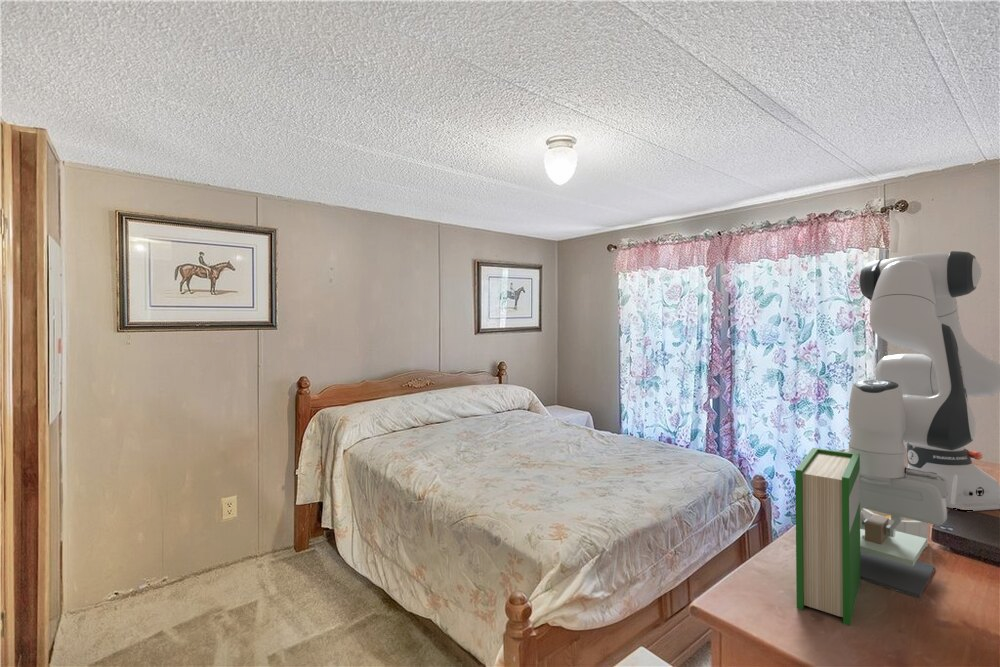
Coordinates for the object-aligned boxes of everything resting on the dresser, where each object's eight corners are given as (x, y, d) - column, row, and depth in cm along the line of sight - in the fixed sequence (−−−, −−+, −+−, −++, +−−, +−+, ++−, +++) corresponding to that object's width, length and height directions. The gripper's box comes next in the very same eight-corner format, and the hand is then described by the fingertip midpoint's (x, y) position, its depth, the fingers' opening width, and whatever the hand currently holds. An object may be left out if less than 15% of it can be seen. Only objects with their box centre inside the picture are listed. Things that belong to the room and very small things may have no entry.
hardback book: (850, 625, 76) (849, 478, 76) (796, 608, 81) (795, 469, 81) (860, 579, 89) (859, 453, 89) (814, 567, 94) (812, 447, 94)
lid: (847, 523, 103) (847, 502, 103) (926, 543, 93) (926, 520, 93) (827, 541, 94) (827, 519, 94) (913, 566, 84) (913, 541, 84)
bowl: (901, 528, 111) (901, 502, 111) (940, 550, 100) (940, 522, 100) (851, 527, 112) (851, 502, 112) (884, 549, 101) (884, 521, 101)
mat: (843, 542, 104) (843, 539, 104) (934, 568, 93) (934, 565, 93) (820, 565, 95) (820, 562, 95) (919, 598, 83) (919, 594, 83)
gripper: (951, 471, 87) (951, 545, 88) (822, 450, 103) (823, 513, 103) (945, 479, 83) (945, 556, 84) (812, 455, 99) (813, 521, 99)
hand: (876, 532), depth 94 cm, fingers closed on lid, 2 cm apart
